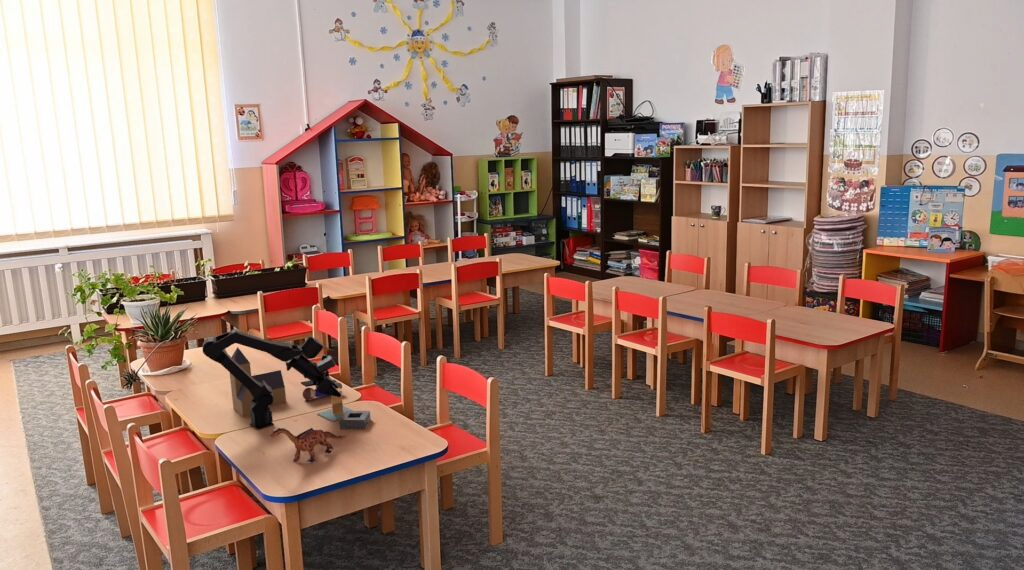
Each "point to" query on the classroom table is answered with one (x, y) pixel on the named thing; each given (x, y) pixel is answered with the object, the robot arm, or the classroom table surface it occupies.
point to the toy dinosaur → (308, 441)
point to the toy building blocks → (272, 379)
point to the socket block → (355, 420)
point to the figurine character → (311, 393)
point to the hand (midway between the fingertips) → (339, 392)
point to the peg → (337, 403)
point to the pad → (329, 414)
